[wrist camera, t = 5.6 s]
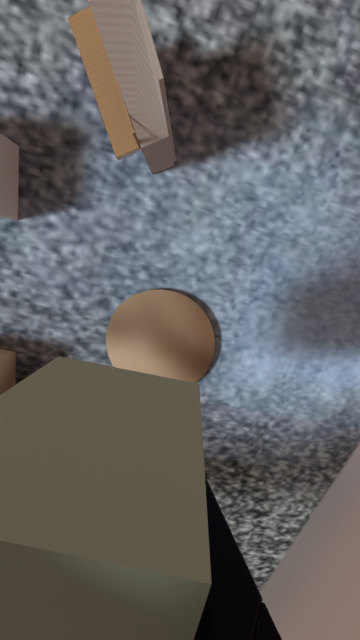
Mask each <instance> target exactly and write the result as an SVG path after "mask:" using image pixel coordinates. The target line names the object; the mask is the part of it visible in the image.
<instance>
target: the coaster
mask: <svg viewBox="0 0 360 640" xmlns="http://www.w3.org/2000/svg"><path fill="white" fill-rule="evenodd" d="M106 347H107V352H108V355H109V358H110V361H111V363H112V365H113V366H114V367H116V368H121V369H126V370H131V371H136V372H141V373H147V374H152V375H157V376H162V377H167V378H172V379H177V380H182V381H187V382H192V383H196V382H197V381H199V380H200V379H201V378H202V377H203V375H204V374H205V373H206V372H207V370H208V369H209V367H210V365H211V362H212V360H213V356H214V351H215V336H214V331H213V328H212V325H211V323H210V320H209V318H208V317H207V315H206V313H205V312H204V311H203V309H202V308H201V307H200V306H199V305H198V304H197V303H196V302H195V301H193V300H192V299H191V298H189V297H187V296H185V295H183V294H181V293H179V292H175V291H172V290H165V289H153V290H147V291H144V292H141V293H138V294H136V295H134V296H132V297H130V298H129V299H127V300H126V301H125V302H123V303H122V304H121V305H120V306H119V307H118V308H117V309H116V311H115V312H114V314H113V315H112V317H111V319H110V322H109V325H108V328H107V333H106Z"/></svg>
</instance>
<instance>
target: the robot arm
mask: <svg viewBox="0 0 360 640" xmlns="http://www.w3.org/2000/svg"><path fill="white" fill-rule="evenodd" d="M205 485H206V502H207V518H208V534H209V550H210V567H211V583H212V584H211V587H210V590H209V593H208V596H207V600H206V603H205V606H204V609H203V612H202V615H201V618H200V621H199V624H198V627H197V631H196V634H195V637H194V640H282V639H281V637H280V635H279V633H278V631H277V629H276V627H275V624H274V622H273V620H272V618H271V616H270V614H269V611H268V609H267V607H266V605H265V603H262V597H261V595H260V592H259V590H258V588H257V586H256V584H255V582H254V580H253V577H252V575H251V573H250V571H249V569H248V567H247V565H246V562H245V560H244V558H243V556H242V554H241V552H240V550H239V547H238V545H237V543H236V541H235V539H234V537H233V535H232V533H231V530H230V528H229V526H228V524H227V522H226V520H225V518H224V515H223V513H222V511H221V509H220V507H219V505H218V503H217V500H216V498H215V496H214V494H213V492H212V490H211V488H210V485H209V483H208V481H207V479H206V477H205Z"/></svg>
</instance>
